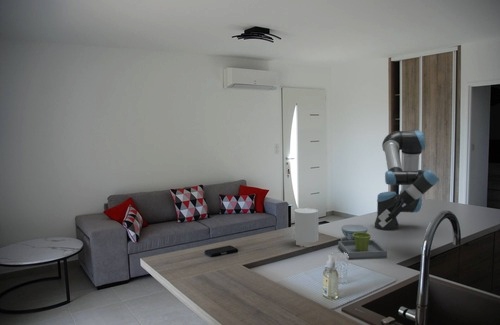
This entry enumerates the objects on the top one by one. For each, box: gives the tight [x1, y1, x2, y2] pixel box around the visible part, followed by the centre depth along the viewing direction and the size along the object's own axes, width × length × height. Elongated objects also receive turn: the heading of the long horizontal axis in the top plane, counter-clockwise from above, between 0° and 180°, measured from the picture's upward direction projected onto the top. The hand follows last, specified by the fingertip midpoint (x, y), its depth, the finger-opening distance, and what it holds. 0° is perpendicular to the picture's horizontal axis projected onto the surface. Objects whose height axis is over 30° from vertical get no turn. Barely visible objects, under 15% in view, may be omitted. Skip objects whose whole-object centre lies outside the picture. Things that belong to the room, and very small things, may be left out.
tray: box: [337, 239, 388, 260], centre depth 208 cm, size 20×20×4 cm
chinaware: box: [341, 224, 369, 241], centre depth 229 cm, size 15×15×8 cm
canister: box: [294, 207, 319, 243], centre depth 225 cm, size 14×14×20 cm
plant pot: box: [353, 232, 372, 252], centre depth 208 cm, size 9×9×9 cm
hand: (380, 222), depth 204 cm, fingers open, 13 cm apart
